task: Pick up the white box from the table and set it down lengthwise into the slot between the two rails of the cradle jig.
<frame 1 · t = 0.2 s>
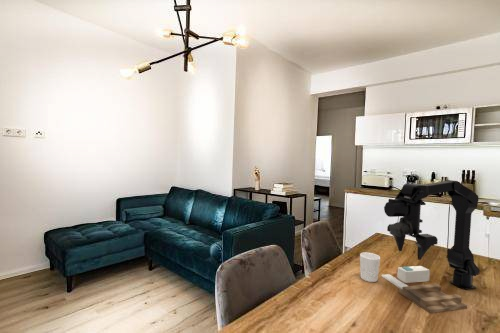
hand: (409, 255, 105), 14 cm above the table, fingers open, 9 cm apart
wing: (395, 283, 111), on the table
white box: (412, 280, 115), on the table
white cup: (368, 279, 114), on the table
cradle: (430, 299, 98), on the table
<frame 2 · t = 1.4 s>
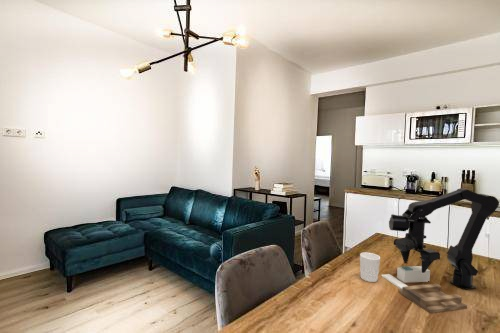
hand: (414, 267, 114), 5 cm above the table, fingers open, 9 cm apart
nothing on the table moved.
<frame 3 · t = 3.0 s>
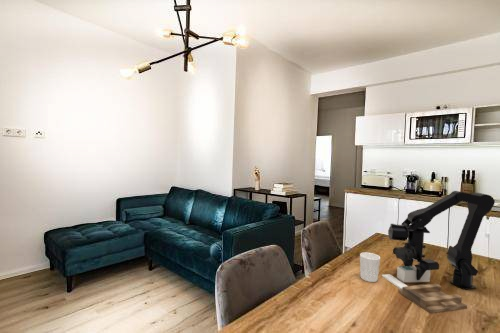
hand: (413, 277, 115), 1 cm above the table, fingers closed on white box, 5 cm apart
white box: (413, 279, 115), on the table, touching gripper
everything else where it was.
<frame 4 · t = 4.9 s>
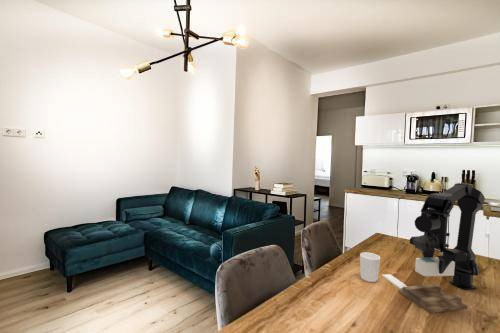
hand: (434, 270, 98), 11 cm above the table, fingers closed on white box, 5 cm apart
white box: (434, 273, 98), point 10 cm above the table, touching gripper
everything else where it was.
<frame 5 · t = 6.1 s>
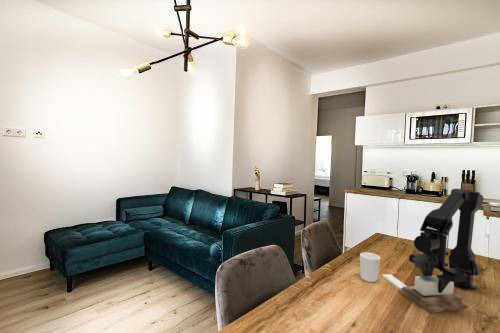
hand: (433, 289, 99), 4 cm above the table, fingers closed on white box, 5 cm apart
white box: (433, 291, 99), point 3 cm above the table, touching gripper
everything else where it was.
when the fingers open (3 cm above the table, at t = 7.0 s): white box drops 1 cm, resting on cradle.
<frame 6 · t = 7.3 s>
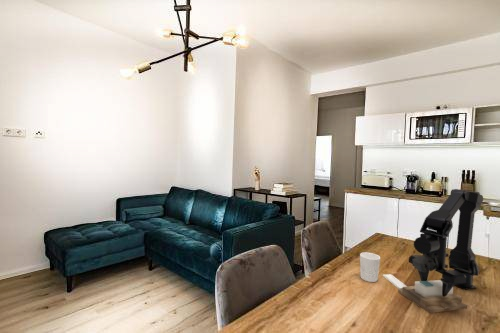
hand: (433, 290, 99), 3 cm above the table, fingers open, 8 cm apart
white box: (433, 296, 99), point 1 cm above the table, touching cradle
everything else where it was.
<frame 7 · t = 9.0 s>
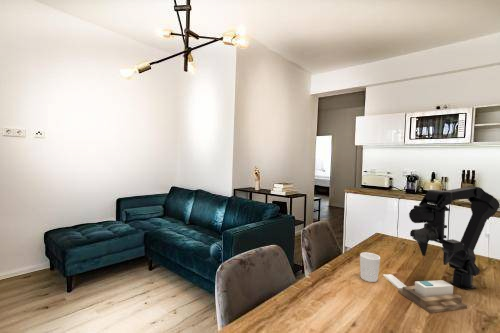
hand: (433, 260, 107), 12 cm above the table, fingers open, 9 cm apart
nothing on the table moved.
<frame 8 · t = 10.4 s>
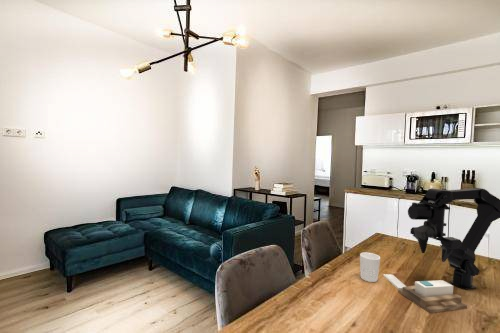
hand: (432, 257, 109), 12 cm above the table, fingers open, 9 cm apart
nothing on the table moved.
at the end: white box 1.0 cm off-centre on the cradle, point 1.0 cm above the cradle's base; white box tilted 0°; the gripper is holding nothing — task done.
